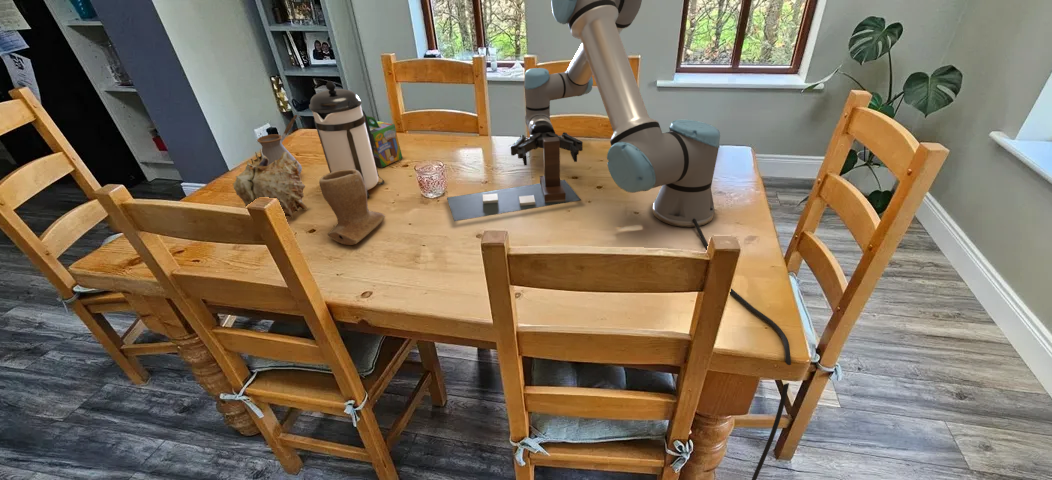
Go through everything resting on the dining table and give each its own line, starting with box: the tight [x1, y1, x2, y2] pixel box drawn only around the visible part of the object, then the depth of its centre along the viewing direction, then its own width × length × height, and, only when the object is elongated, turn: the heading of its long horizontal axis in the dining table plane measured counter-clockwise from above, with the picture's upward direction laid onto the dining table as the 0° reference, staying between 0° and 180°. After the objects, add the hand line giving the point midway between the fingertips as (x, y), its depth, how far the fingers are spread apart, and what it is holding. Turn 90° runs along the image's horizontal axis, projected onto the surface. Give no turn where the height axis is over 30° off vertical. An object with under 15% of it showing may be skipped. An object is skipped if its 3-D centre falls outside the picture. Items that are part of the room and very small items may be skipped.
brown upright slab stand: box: [539, 137, 565, 203], centre depth 129 cm, size 12×6×15 cm, turn 8°
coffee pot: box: [256, 114, 303, 175], centre depth 148 cm, size 21×12×15 cm, turn 172°
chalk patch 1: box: [483, 194, 498, 204], centre depth 130 cm, size 4×4×1 cm
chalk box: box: [366, 115, 403, 169], centre depth 154 cm, size 9×9×15 cm
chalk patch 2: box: [519, 195, 535, 206], centre depth 129 cm, size 4×4×1 cm
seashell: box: [232, 148, 308, 220], centre depth 125 cm, size 18×18×15 cm
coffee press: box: [308, 81, 385, 199], centre depth 133 cm, size 17×16×30 cm
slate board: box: [446, 179, 582, 222], centre depth 131 cm, size 14×34×2 cm, turn 108°
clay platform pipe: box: [318, 169, 386, 246], centre depth 117 cm, size 15×12×15 cm
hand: (550, 158), depth 130 cm, fingers open, 13 cm apart
